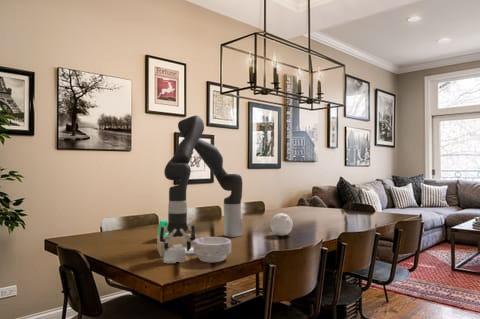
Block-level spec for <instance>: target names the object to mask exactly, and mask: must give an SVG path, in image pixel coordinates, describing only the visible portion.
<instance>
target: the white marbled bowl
mask: <svg viewBox="0 0 480 319" xmlns="http://www.w3.org/2000/svg"><path fill="white" fill-rule="evenodd" d="M193 244H194V247H193V249H194V255H196V256H198V259H199V261H202V262H204V263H214V264H215V263H220V262H224V260H226V258H227V256H228V255H230V254H231V253H232V240H231V239H229V238H226V237H222V236H206V237H200V238H199V237H198V238H197V239H195V240H194V242H193Z"/></svg>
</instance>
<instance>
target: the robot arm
mask: <svg viewBox="0 0 480 319" xmlns="http://www.w3.org/2000/svg"><path fill="white" fill-rule="evenodd" d="M177 128H178V131H179V132H180V135H181V136H182V137H183V139H182V140H181V141H180V143H179V144H178V145H177V148H176V149H175V153H174V155H173V157H171V159H170V160H169V161H168V163H166V165H165V167H164V170H163V171H164V173H163V174H164V177H165V178H166V179H167V180H169V181H180V182H179V184H178V185H173V186H170V187H169V188H168V205H167V206H168V208H167V209H168V212H167V214H168V216H167V217H168V218H167V223H168V226H167V227H163V226H161V227H160V239H159V240H160V242H164V249H168V241H169V240H170V239H171V237H172V236H173V237H177V236H179V237H182V236H183V235H184V237H185V238H186V239H187V251H189V249H190V248H191V241H192V240H195V234H196V231H195V230H196V228H195V225H193V224H191V225H188V222H187V221H188V220H187V219H188V216H187V215H188V206H187V190H188V184H189V179H190V177H191V173H192V170H191V167H190V165H189V164H190V161H191V158H192V154H193V152H194V150H195V152H196V154H198V155H199V157H200V158H201V160H202V161H203V162H204V164H205V165H206V166H207V167H208V168H209V170H210V172H212V174H213V175H214V177H215V178H216V180H217V183H218V184H219V186H220V187H221V188H222V189H223V190H224V191H228V192H230V195H229V196H227V197H225V198H224V199H223V236H224V237H231V238H232V237H234V238H235V237H240V236H241V237H242V236H243V217H242V204H241V203H242V198H243V177H242V176H241V175H240V174H239V173H227V171H226V170H225V169H224V167H223V166H224V158H223V155H222V154H221V152H220V151H219V150H218V148H217V147H216V146H215V145H213V144H212V143H210V142H208V141H206V140H203V139H201V136H202V134H203V133H204V131H205V124H204V120H203V119H202V118H201V116H199V115H192V116H189V117H187V118H184V119H182V120H181V119H180V120H179V121H178V122H177ZM188 229H189V231H190V234H191V237H190V238H189V237H188V235H187V234H188V233H187V231H188ZM166 231H168V233H169V234H168V235H167V237H166V238H165V239H163V235H164V232H165V233H166Z"/></svg>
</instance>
